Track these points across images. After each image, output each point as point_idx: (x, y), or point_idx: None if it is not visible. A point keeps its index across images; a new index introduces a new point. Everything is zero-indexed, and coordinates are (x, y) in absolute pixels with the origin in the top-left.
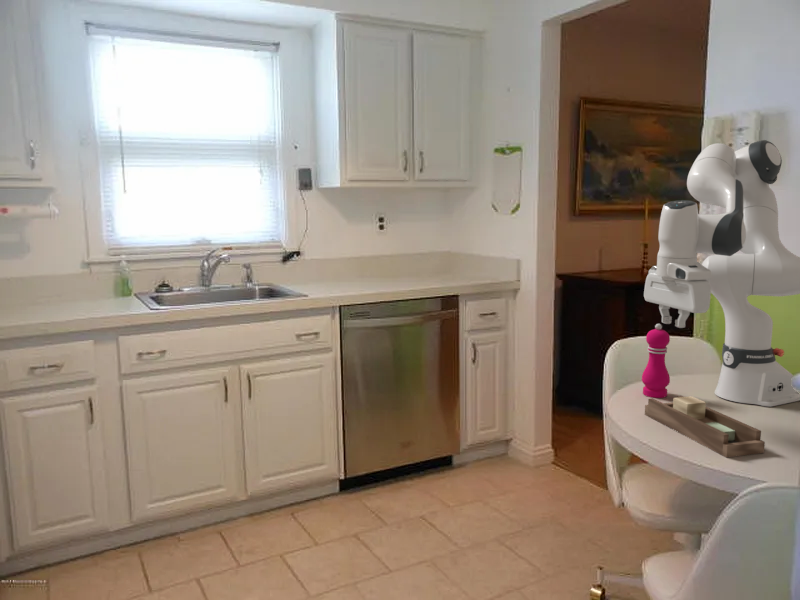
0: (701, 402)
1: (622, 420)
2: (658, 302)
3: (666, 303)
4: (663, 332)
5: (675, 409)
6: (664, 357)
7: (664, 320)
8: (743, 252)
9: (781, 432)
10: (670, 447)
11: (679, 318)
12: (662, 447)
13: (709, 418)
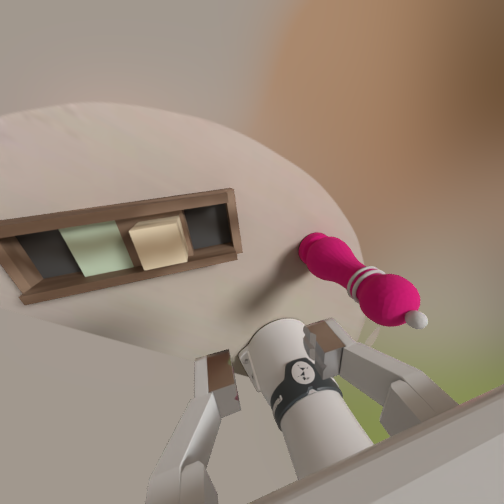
0: (143, 262)
1: (204, 126)
2: (477, 424)
3: (376, 497)
4: (389, 318)
5: (153, 213)
6: (344, 287)
7: (319, 333)
8: None
9: (143, 336)
10: (36, 141)
11: (188, 417)
12: (32, 122)
13: None
